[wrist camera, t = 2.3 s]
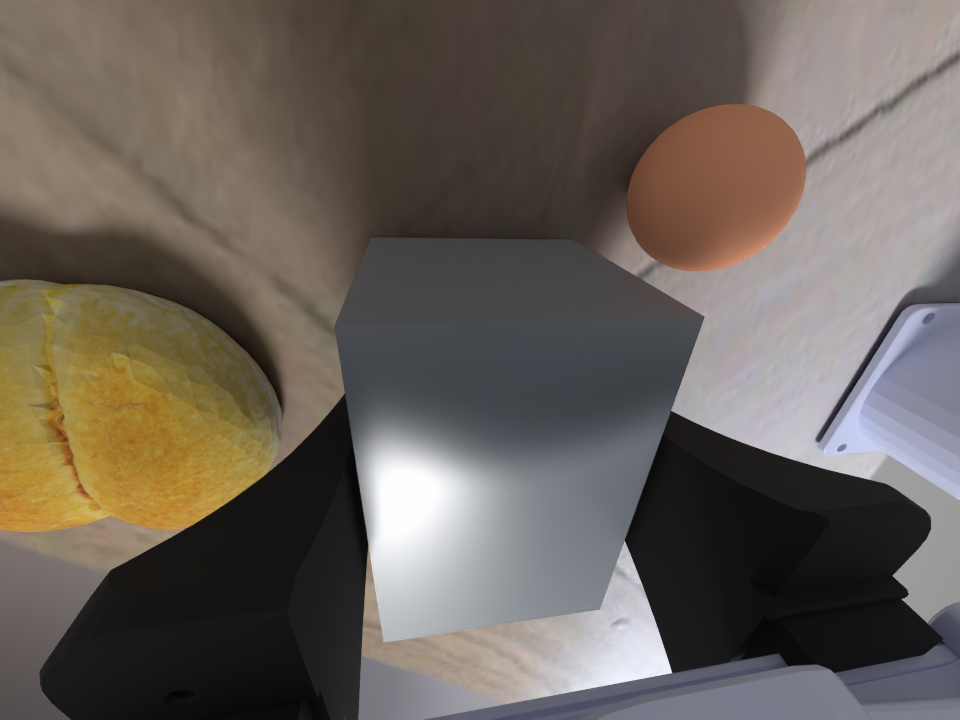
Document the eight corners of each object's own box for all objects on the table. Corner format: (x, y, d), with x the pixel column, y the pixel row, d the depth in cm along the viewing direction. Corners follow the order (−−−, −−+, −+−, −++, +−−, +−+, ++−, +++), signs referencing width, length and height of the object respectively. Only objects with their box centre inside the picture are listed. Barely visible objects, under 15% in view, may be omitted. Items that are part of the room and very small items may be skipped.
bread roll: (290, 485, 16) (258, 581, 12) (15, 476, 13) (-119, 591, 10) (289, 297, 12) (241, 360, 9) (-93, 242, 10) (-365, 298, 6)
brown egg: (744, 114, 11) (893, 102, 8) (700, 251, 13) (803, 290, 10) (618, 105, 11) (719, 87, 7) (591, 251, 13) (661, 292, 9)
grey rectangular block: (573, 239, 12) (704, 316, 6) (538, 459, 16) (599, 609, 11) (370, 237, 11) (334, 326, 6) (392, 471, 15) (383, 642, 10)
